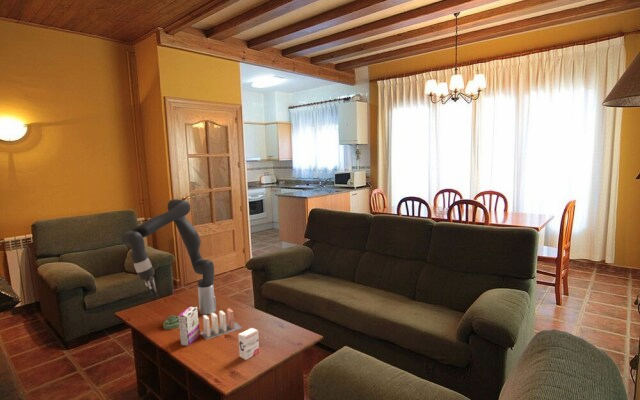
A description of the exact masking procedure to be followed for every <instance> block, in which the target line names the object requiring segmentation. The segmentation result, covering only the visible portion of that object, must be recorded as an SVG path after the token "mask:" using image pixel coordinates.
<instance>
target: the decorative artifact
mask: <svg viewBox="0 0 640 400" xmlns="http://www.w3.org/2000/svg"><path fill="white" fill-rule="evenodd" d="M177 328H179V320H178V315H174V314H171V315H170V316H168V317H167V318H166V319H165V321H163V329H164V330H166V331H167V330H174V329H177Z"/></svg>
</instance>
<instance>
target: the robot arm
mask: <svg viewBox="0 0 640 400" xmlns="http://www.w3.org/2000/svg"><path fill="white" fill-rule="evenodd" d="M190 212H191V204H190V202H189V201H188V200H184V199H178V198H177V199H176V198H174V199H170V200H169V201H168V203H167V211H166V212H164V213H162V214H161V213H160V214H159V215H156V216H153V217H151V218H149V219H148V220H146V221H144V222H143V223H142V224H140V225H139V226H135V227H133V228H132V229H129V230H127V231H126V232H124V233H123V234H122V236H121V239H120V240H121V241H120V242H121V243H122V244H123V245H124V246H127V247H131V248H130V249H131V251H130V253H129V255H130V259H131V260H132V263H133V265H134V266H133V267H134V269H135V271H136V274H137V276H138V279H139V280H140V281H142V280H143V281H144V284H145V286H146V288H147V290H148V292H149V293H150V294H151V296H152V297H153V299H154V300H155V299H158V298H159V294H158V292H157V288H156V282H155V281H154V277H153V276H154V275H155V270H154V267H153V265H152V262H151V260H150V258H149V257H148V254H147V251H146V248H145V247H146V246H145V241H144V238H147V237H150V236H151V235H153V234H154V233H156V232H157V231H159V230H160V229H161V228H163V227H165V226H167V225H168V224H171V223H172V222H174V224H175V226H176V228H177V230H178V232H179V235H180V238H181V240H182V243H183V244H184V246H185V248H186V252H187V254H188V256H189V259H190V262H191V265H192V268H193V271H194V272H195V273H196V274H198V275H202V278H201V279H199V280H197V292H198V293H197V296H198V306H199V314H200V315H202V316H204V315H206V316H207V315H211V313H216V312H217V304H216V303H217V302H216V300H217V299H216V296H215V289H214V287H215V285H214V280H215V265H214V262H213V261H212V260H210V259H204V258H203V257H202V255H201V252H200V247H201V237H200V235H199V232H198V231H197V229H196V228H195V227H194V226H193V225H192V224H191V222H189V221H188V219H187V217H186V216H187V215H188V214H189V213H190Z"/></svg>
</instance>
